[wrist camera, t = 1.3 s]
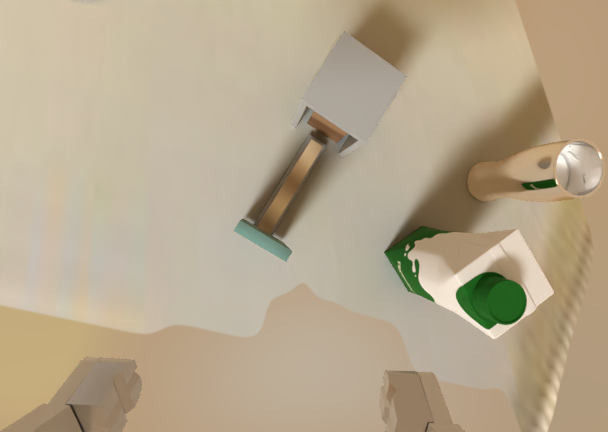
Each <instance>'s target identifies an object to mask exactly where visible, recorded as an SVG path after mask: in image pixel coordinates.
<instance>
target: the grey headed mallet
mask: <svg viewBox="0 0 608 432" xmlns="http://www.w3.org/2000/svg"><path fill="white" fill-rule="evenodd" d="M406 77H407V76H406V75H405V74H403V73H402V72H400V71H399V70H398V69H396V68H395V67H393V66H392V65H391V64H389V63H388V62H387V61H385V60H384V59H382V58H381V57H380V56H378V55H377V54H375V53H374V52H373V51H371V50H370V49H369V48H367V47H366V46H364V45H363V44H362V43H360V42H359V41H357V40H356V39H355V38H353V37H352V36H350V35H349V34H348V33H346V32H345V31H344V32H343V33H342V35H341V37H340V38H339V40H338V41H337V43H336V45H335V46H334V48H333V49H332V51H331V53H330V54H329V56H328V57H327V59H326V61H325V62H324V64H323V66H322V67H321V69H320V70H319V72H318V74H317V75H316V77H315V78H314V80H313V82H312V83H311V85H310V86H309V88H308V90H307V91H306V93H305V94H304V96H303V98H302V99H301V102H300V104H299V106H298V109H297V111H296V114H295V116H294V118H293V121H292V123H291V125H292V126H294V127H295V128H296V126H297V125H298V123H299V122H300V120H301V118H302V117H303V115H304V113H305V112H306V110H307V109H308V107H309V108H311V109H312V110H314V111H315V112H316V113H318V114H319V115H321V116H322V117H324V118H325V119H327V120H328V121H330V122H331V123H333V124H334V125H336V126H337V127H339V128H340V129H342V130H343V131H345V132H346V133H348V134H349V136H348V138H347V140H346V141H345V143H344V145H343V146H342V148H341V150H340V151H339V153H338V156H339V157H341V158H343V157H345V156H346V155H348V154H349V153H351V152H353V151H354V150H356V149H357V148H359V147H361V146H362V145H364V144H365V143H367V142H368V140H369V138H370V137H371V135H372V133H373V132H374V130H375V128H376V127H377V125H378V123H379V122H380V120H381V118H382V117H383V115H384V113H385V112H386V110H387V108H388V107H389V105H390V103H391V102H392V100H393V98H394V97H395V95H396V93H397V92H398V90H399V88H400V87H401V85H402V83H403V82H404V80H405V78H406ZM311 139H312V140H314V141H316V142H317V143H319V144H320V145H322V146H323V147H322V149H321V151H320V152H319V154H318V156H317V157H316V159H315V161H314V162H313V164H312V166H311V167H310V169H309V170H308V172H307V174H306V175H305V177H304V179H303V180H302V182H301V184H300V185H299V187H298V189H297V190H296V192H295V193H294V195H293V197H292V198H291V200H290V202H289V203H288V205H287V207H286V208H285V210H284V211H283V213H282V215H281V216H280V218H279V220H278V221H277V223H276V225H275V226H274V228H273V230H272V231H271V233H270V235H272V234H273V233H274V231H275V229H276V228H277V226H278V224H279V223H280V221H281V219H282V218H283V216H284V215H285V213H286V211H287V210H288V208H289V206H290V205H291V203H292V201H293V200H294V198H295V196H296V195H297V193H298V192H299V190H300V188H301V187H302V185H303V183H304V182H305V180H306V178H307V177H308V175H309V173H310V172H311V170H312V169H313V167H314V165H315V164H316V162H317V160H318V159H319V157H320V155H321V154H322V152H323V150H324V149H325V147H326V145H325V144H323V143H322V142H320V141H319V140H317V139H316V138H314V137H313V136H311V135H310V134H309V136H308V137H307V139H306V141H305V142H304V144H303V146H302V147H301V149H300V150H299V152H298V154H297V155H296V157H295V159H294V160H293V162H292V163H291V165H290V167H289V168H288V170H287V172H286V173H285V175H284V176H283V178H282V180H281V181H280V183H279V185H278V186H277V188H276V189H275V191H274V193H273V194H272V196H271V198H270V199H269V201H268V202H267V204H266V206H265V207H264V209H263V211H262V212H261V214H260V215H259V217H258V219H257V220H256V222H255V224H254V225H255V226H258V225H259V223H260V221H261V220H262V218H263V216H264V215H265V213H266V212H267V210H268V208H269V207H270V205H271V203H272V202H273V200H274V199H275V197H276V195H277V194H278V192H279V190H280V189H281V187H282V186H283V184H284V182H285V181H286V179H287V177H288V176H289V174H290V173H291V171H292V169H293V168H294V166H295V164H296V163H297V161H298V159H299V158H300V156H301V155H302V153H303V151H304V150H305V148H306V146H307V145H308V143H309V142H310V140H311Z"/></svg>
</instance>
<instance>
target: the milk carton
mask: <svg viewBox="0 0 608 432" xmlns="http://www.w3.org/2000/svg"><path fill="white" fill-rule="evenodd" d="M384 253H385V254H386V256H387V257H388V259H389V261H390V262H391V264H392V266H393V267H394V269H395V270H396V272H397V274H398V275H399V277H400V279H401V280H402V282H403V283H404V285H405V287H406V288H407V290H408V291H409V292H412V293H415V294H417V295H420V296H422V297H424V298H426V299H428V300H430V301H433V302H435V303H437V304H439V305H441V306H443V307H445V308H447V309H449V310H451V311H453V312H455V313H457V314H458V315H460V316H461V317H463V318H464V319H466V320H467V321H469V322H470V323H471V324H473V325H474V326H476V327H477V328H479V329H480V330H481V331H483V332H484V333H486V334H487V335H488V336H490V337H491V338H493V339H496V338H497V337H499V336H500V335H502V334H503V333H504V332H506V331H507V330H508V329H510V328H511V327H512V326H514V325H515V324H516V323H517V322H519V321H520V320H521V319H523V318H524V317H525V316H527V315H529V314H531V313H532V312H533V311H534V310H536V307H537V306H538V305H539V304H540V303H542V302H543V301H544V300H546V299H547V298H548V297H550V296H551V295H552V294H553V293H554V291H553V289H552V288H551V286H550V284H549V282H548V280H547V279H546V277H545V275H544V273H543V272H542V270H541V268H540V266H539V265H538V263H537V261H536V259H535V258H534V256H533V254H532V252H531V251H530V249H529V247H528V245H527V244H526V242H525V240H524V238H523V237H522V235H521V233H520V231H519V230H518V229H514V230H505V231H496V232H487V233H477V234H474V233H462V232H451V231H440V230H436V229H432V228H428V227H424V226H422V227H420V228H419V229H417V230H416V231H415V232H413V233H412V234H410V235H409V236H407V237H406V238H405V239H403V240H402V241H400V242H399V243H397V244H396V245H394V246H393V247H392V248H390V249H389V250H387V251H386V252H384Z"/></svg>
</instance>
